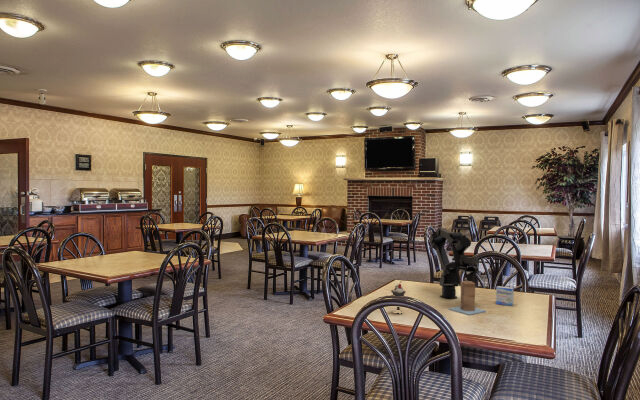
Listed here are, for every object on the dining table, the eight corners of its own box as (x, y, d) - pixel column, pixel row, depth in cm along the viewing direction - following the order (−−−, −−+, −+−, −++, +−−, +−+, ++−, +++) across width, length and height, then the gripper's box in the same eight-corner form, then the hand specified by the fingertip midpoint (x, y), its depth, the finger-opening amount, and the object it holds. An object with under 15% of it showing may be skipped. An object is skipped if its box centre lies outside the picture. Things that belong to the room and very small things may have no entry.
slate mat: (448, 309, 221) (448, 308, 221) (465, 306, 227) (465, 305, 227) (469, 315, 211) (469, 314, 211) (486, 311, 217) (486, 310, 217)
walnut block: (460, 308, 221) (460, 281, 221) (470, 308, 222) (471, 281, 221) (464, 310, 216) (464, 283, 216) (474, 310, 217) (475, 283, 216)
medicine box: (495, 304, 233) (496, 287, 232) (496, 302, 237) (497, 285, 236) (512, 306, 229) (512, 288, 229) (513, 304, 233) (513, 287, 233)
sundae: (402, 315, 209) (402, 282, 209) (388, 313, 213) (389, 281, 213) (407, 312, 215) (408, 280, 215) (394, 310, 219) (394, 278, 218)
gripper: (458, 246, 223) (465, 277, 216) (483, 253, 233) (491, 282, 225) (441, 254, 231) (447, 284, 224) (466, 260, 241) (473, 289, 233)
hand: (465, 285), depth 226 cm, fingers open, 9 cm apart
